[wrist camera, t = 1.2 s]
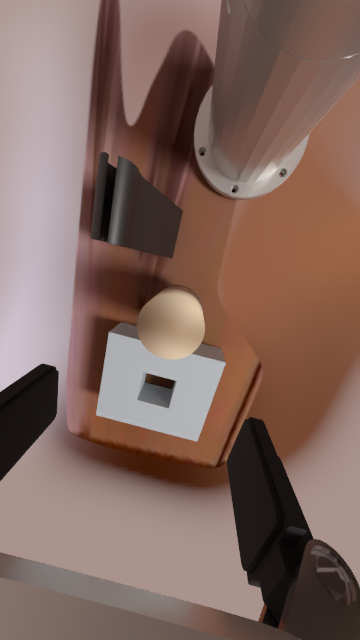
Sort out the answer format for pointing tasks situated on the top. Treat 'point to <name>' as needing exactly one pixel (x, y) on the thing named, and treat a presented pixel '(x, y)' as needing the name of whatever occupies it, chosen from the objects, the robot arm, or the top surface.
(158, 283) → the top surface
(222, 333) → the top surface
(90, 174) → the top surface
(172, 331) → the beech peg
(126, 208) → the dark grey a-shaped piece
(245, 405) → the top surface
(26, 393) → the robot arm
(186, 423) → the gray rectangular block
